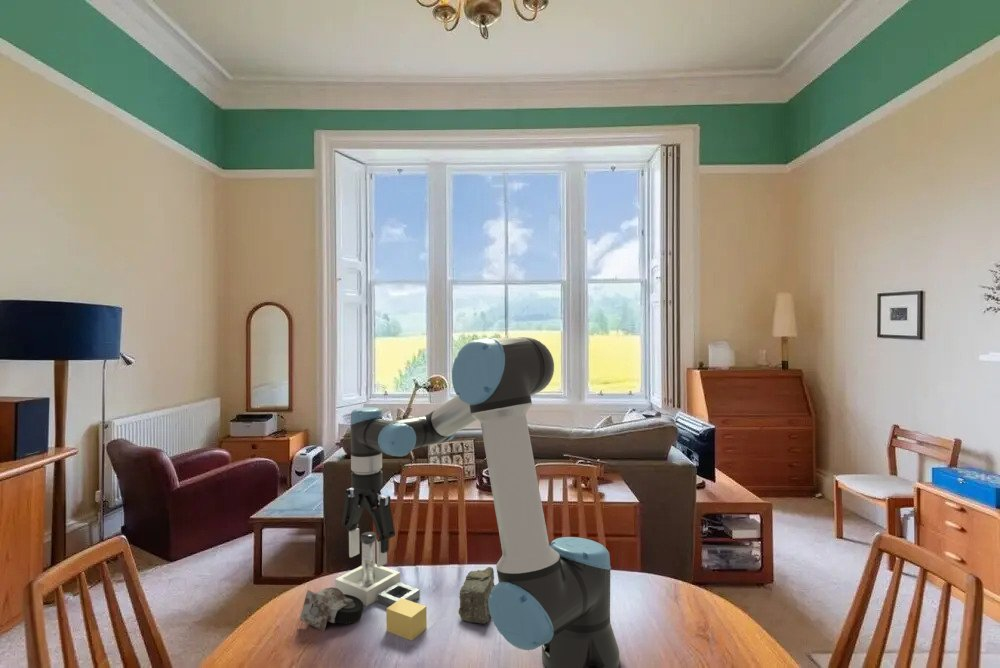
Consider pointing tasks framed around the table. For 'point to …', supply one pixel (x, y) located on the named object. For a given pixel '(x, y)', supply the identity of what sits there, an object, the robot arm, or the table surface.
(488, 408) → the robot arm
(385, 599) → the pin socket
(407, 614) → the block
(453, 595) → the table surface
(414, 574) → the table surface
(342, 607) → the caster wheel
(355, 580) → the tray
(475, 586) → the rock
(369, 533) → the pin
